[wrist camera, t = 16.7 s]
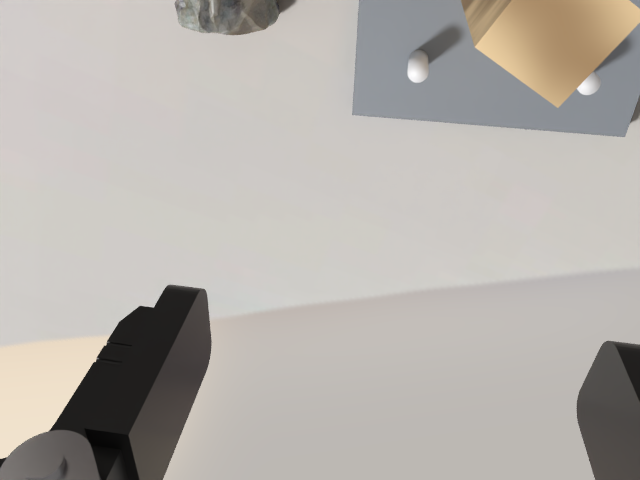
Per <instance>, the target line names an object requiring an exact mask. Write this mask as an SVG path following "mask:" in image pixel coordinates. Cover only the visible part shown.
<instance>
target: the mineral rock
mask: <svg viewBox="0 0 640 480" xmlns="http://www.w3.org/2000/svg"><path fill="white" fill-rule="evenodd" d="M175 7H176V10H177V15H178V20H179V23H180V25H181V26H182V27H185V28H188V29H191V30H194V31H198V32H201V33H219V34H226V35H241V34H247V33H251V32H256V31H260V30H264V29H266V28H267V27H268V26H271V25H272V24H274V23H275V22H276V20H277V18H278V16H279V14H280V11H279V5H278V3H277V2H276V0H177V1H176V2H175Z"/></svg>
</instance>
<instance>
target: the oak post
mask: <svg viewBox="0 0 640 480" xmlns="http://www.w3.org/2000/svg"><path fill="white" fill-rule="evenodd" d="M461 3H462V6H463V10H464V13H465V16H466V20H467V23H468V26H469V30H470V33H471V37H472V40H473V43H474V47H475V48H476V49H478V50H479V51H481V52H482V53H483V54H485V55H486V56H487V57H489V58H490V59H491V60H493V61H494V62H496V63H497V64H498V65H500V66H501V67H502V68H504V69H505V70H506V71H508V72H509V73H511V74H512V75H513V76H515V77H516V78H517V79H519V80H520V81H522V82H523V83H524V84H526V85H527V86H528V87H530V88H531V89H532V90H534V91H535V92H537V93H538V94H539V95H541V96H542V97H543V98H545V99H546V100H548V101H549V102H550V103H552V104H553V105H554V106H556V107H557V108H559V107H560V106H561V104H562V103H563V102H564V101H565V100H566V99H567V98H568V97H569V96H570V95H571V94H572V93H573V92H574V91H575V90H576V89H577V88H578V87H579V86H580V85H581V84H582V82H583V81H584V80H585V79H586V78H587V77H588V76H589V75H590V74H591V73H592V72H593V71H594V70H595V69H596V68H597V67H598V66H599V65H600V64H601V63H602V62H603V60H604V59H605V58H606V57H607V56H608V55H609V54H610V53H611V52H612V51H613V50H614V49H615V48H616V47H617V46H618V45H619V44H620V43H621V42H622V41H623V40H624V39H625V37H626V36H627V35H628V34H629V33H630V32H631V31H632V30H633V29H634V28H635V27H636V26H637V25H638V24H639V23H640V8H638V7H637V6H636V5H635V4H633V3H632V2H631V1H630V0H461Z"/></svg>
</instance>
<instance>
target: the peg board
mask: <svg viewBox="0 0 640 480" xmlns="http://www.w3.org/2000/svg"><path fill="white" fill-rule="evenodd" d="M630 1H631V2H632V3H633V4H635V5H636V6H637V7H638V8H640V0H630ZM639 96H640V23H639V24H638V25H637V26H636V27H635V28H634V29H633V30H632V31H631V32H630V33H629V34H628V35H627V36H626V37H625V39H624V40H623V41H622V42H621V43H620V44H619V45H618V46H617V47H616V48H615V49H614V50H613V51H612V52H611V53H610V54H609V55H608V56H607V57H606V58H605V59H604V60H603V62H602V63H601V64H600V65H599V66H598V67H597V68H596V69H595V70H594V71H593V72H592V73H591V74H590V75H589V76H588V77H587V78H586V79H585V80H584V81H583V82H582V84H581V85H580V86H579V87H578V88H577V89H576V90H575V91H574V92H573V93H572V94H571V95H570V96H569V97H568V98H567V99H566V100H565V101H564V102H563V103H562V104H561V106H560V107H559V108H557V107H556V106H554V105H553V104H552V103H550V102H549V101H548V100H546V99H545V98H543V97H542V96H541V95H539V94H538V93H537V92H535V91H534V90H532V89H531V88H530V87H528V86H527V85H526V84H524V83H523V82H522V81H520V80H519V79H517V78H516V77H515V76H513V75H512V74H511V73H509V72H508V71H506V70H505V69H504V68H502V67H501V66H500V65H498V64H497V63H496V62H494V61H493V60H491V59H490V58H489V57H487V56H486V55H485V54H483V53H482V52H481V51H479V50H478V49H476V48H475V47H474V43H473V40H472V37H471V33H470V30H469V26H468V23H467V20H466V16H465V13H464V10H463V6H462V3H461V0H359V11H358V28H357V44H356V61H355V77H354V94H353V111H352V115H359V116H371V117H384V118H396V119H408V120H421V121H433V122H445V123H458V124H470V125H482V126H494V127H507V128H519V129H531V130H544V131H556V132H568V133H581V134H593V135H605V136H617V137H625V135H626V132H627V130H628V127H629V124H630V121H631V118H632V116H633V113H634V110H635V107H636V104H637V102H638V99H639Z"/></svg>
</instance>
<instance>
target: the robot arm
mask: <svg viewBox="0 0 640 480" xmlns="http://www.w3.org/2000/svg"><path fill="white" fill-rule="evenodd" d="M210 354H211V332H210V321H209V310H208V300H207V293H206V290H205V289H201V288H193V287H185V286H177V285H168V286H167V287H166V288H165V289H164V291H163V293H162V294H161V296H160V298H159V300H158V301H157V303H156V305H155V307H154V308H152V307H144V306H139V307H138V308H137V309H135V310H134V311H133V312H132V313H130V314H129V315H128V316H126V317H125V318H124V319H123V320H121V321H120V322H119V323H118V325H117V327H116V328H115V330H114V331H113V333H112V334H111V336H110V338H109V339H108V341H107V345H106V346H104V347H103V349H102V350H101V352H100V354H99V355H98V357H97V360H96V362H94V363H93V364H92V366H91V368H90V369H89V371H88V373H87V374H86V376H85V377H84V379H83V380H82V382H81V383H80V385H79V386H78V388H77V390H76V391H75V393H74V395H73V396H72V398H71V399H70V401H69V402H68V404H67V406H66V407H65V408H64V410H63V412H62V414H61V415H60V416H59V418H58V419H57V421H56V423H55V424H54V425H53V427H52V428H51V430H50V431H48V432H45V433H42V434H39V435H37V436H34V437H32V438H30V439H28V440H27V441H25V442H24V443H22V444H21V445H19V446H18V447H17V448H16V449H15V450H14V451H13V452H12V453H11V454H10V455H9V456H8V457H7V458H3V459H0V480H163V478H164V475H165V473H166V470H167V468H168V465H169V462H170V460H171V458H172V455H173V453H174V450H175V448H176V445H177V443H178V440H179V438H180V435H181V433H182V430H183V428H184V425H185V423H186V420H187V418H188V415H189V413H190V410H191V408H192V405H193V403H194V400H195V398H196V395H197V393H198V390H199V388H200V386H201V383H202V380H203V378H204V376H205V373H206V370H207V367H208V364H209V360H210ZM577 419H578V424H579V427H580V431H581V434H582V437H583V441H584V444H585V447H586V450H587V454H588V457H589V461H590V464H591V467H592V470H593V474H594V477H595V480H640V345H637V344H629V343H621V342H614V341H606V342H605V343H603V344H602V346H601V348H600V350H599V352H598V354H597V356H596V358H595V360H594V362H593V364H592V367H591V368H590V370H589V373H588V375H587V377H586V379H585V381H584V383H583V385H582V387H581V389H580V392H579V395H578V400H577Z"/></svg>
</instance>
